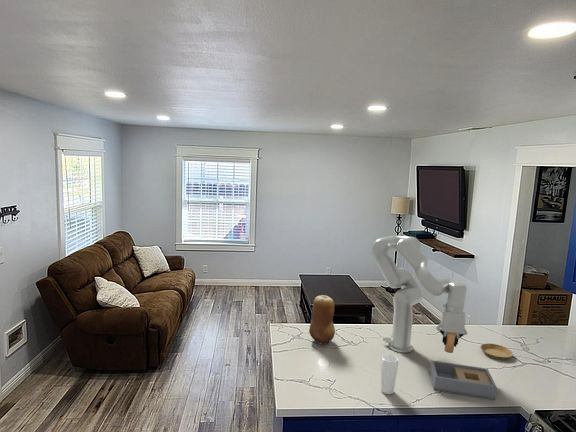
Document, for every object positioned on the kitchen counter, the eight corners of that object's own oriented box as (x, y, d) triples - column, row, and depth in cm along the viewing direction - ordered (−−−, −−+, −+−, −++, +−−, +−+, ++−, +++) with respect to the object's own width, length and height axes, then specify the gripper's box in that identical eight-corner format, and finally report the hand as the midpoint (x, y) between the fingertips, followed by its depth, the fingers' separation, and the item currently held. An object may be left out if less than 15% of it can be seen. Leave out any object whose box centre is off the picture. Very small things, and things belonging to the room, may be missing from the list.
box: (433, 390, 170) (435, 377, 169) (430, 372, 185) (431, 360, 184) (494, 400, 165) (496, 386, 164) (486, 381, 179) (487, 368, 178)
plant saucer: (518, 361, 199) (519, 356, 199) (492, 362, 197) (493, 357, 197) (498, 347, 214) (499, 342, 213) (474, 348, 211) (474, 343, 211)
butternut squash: (338, 341, 213) (341, 296, 210) (327, 350, 202) (329, 303, 198) (315, 334, 220) (318, 290, 217) (303, 342, 209) (305, 297, 206)
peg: (444, 352, 188) (447, 332, 186) (443, 348, 192) (446, 328, 190) (453, 353, 187) (456, 333, 186) (452, 349, 191) (455, 330, 189)
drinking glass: (377, 386, 171) (379, 354, 169) (392, 386, 171) (395, 354, 169) (382, 396, 164) (384, 362, 162) (397, 396, 165) (400, 362, 163)
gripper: (437, 308, 184) (432, 345, 187) (475, 314, 181) (470, 351, 184) (435, 302, 192) (430, 338, 195) (472, 308, 188) (466, 344, 191)
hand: (449, 344), depth 189 cm, fingers closed on peg, 4 cm apart
